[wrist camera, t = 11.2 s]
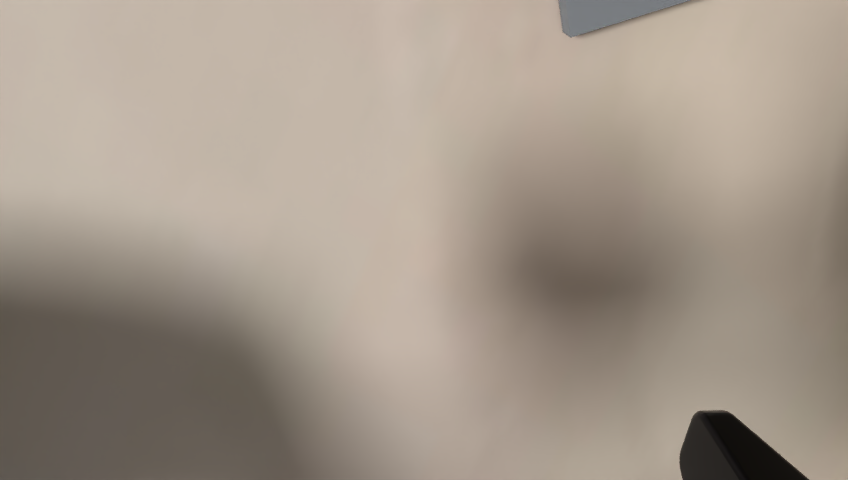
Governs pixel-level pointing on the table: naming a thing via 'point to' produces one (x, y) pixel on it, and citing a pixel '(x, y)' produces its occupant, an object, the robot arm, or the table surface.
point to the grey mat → (604, 12)
